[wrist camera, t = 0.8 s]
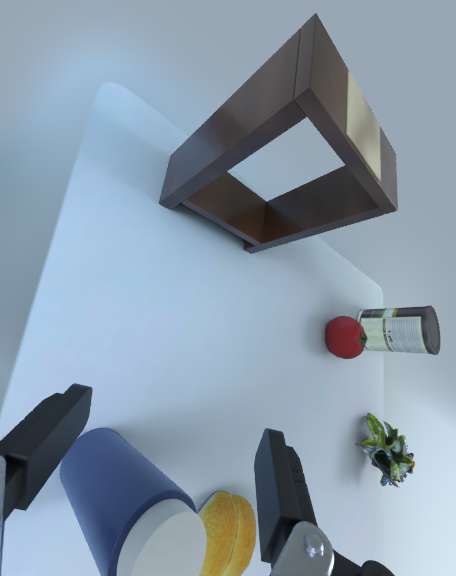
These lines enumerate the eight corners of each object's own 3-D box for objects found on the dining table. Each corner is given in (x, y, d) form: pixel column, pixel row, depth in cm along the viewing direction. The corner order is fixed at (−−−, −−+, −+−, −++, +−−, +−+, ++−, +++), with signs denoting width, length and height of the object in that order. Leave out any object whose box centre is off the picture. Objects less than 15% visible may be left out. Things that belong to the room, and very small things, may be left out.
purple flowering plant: (345, 441, 64) (393, 493, 55) (332, 443, 56) (385, 503, 48) (376, 407, 63) (429, 454, 54) (367, 405, 55) (427, 459, 47)
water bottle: (66, 508, 22) (130, 674, 11) (54, 447, 22) (108, 558, 11) (127, 470, 25) (220, 570, 15) (117, 417, 25) (203, 481, 15)
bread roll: (201, 483, 30) (224, 499, 27) (249, 496, 35) (272, 511, 32) (169, 576, 27) (190, 607, 24) (226, 577, 31) (251, 603, 28)
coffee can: (360, 301, 66) (428, 296, 55) (374, 323, 71) (440, 323, 60) (352, 336, 61) (426, 337, 50) (369, 358, 66) (440, 363, 55)
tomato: (341, 333, 57) (377, 334, 52) (332, 364, 53) (370, 369, 48) (326, 309, 54) (362, 307, 49) (315, 340, 50) (353, 342, 44)
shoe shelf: (158, 203, 31) (311, 86, 16) (170, 155, 33) (317, 10, 18) (250, 253, 40) (399, 210, 26) (256, 214, 42) (397, 152, 27)
